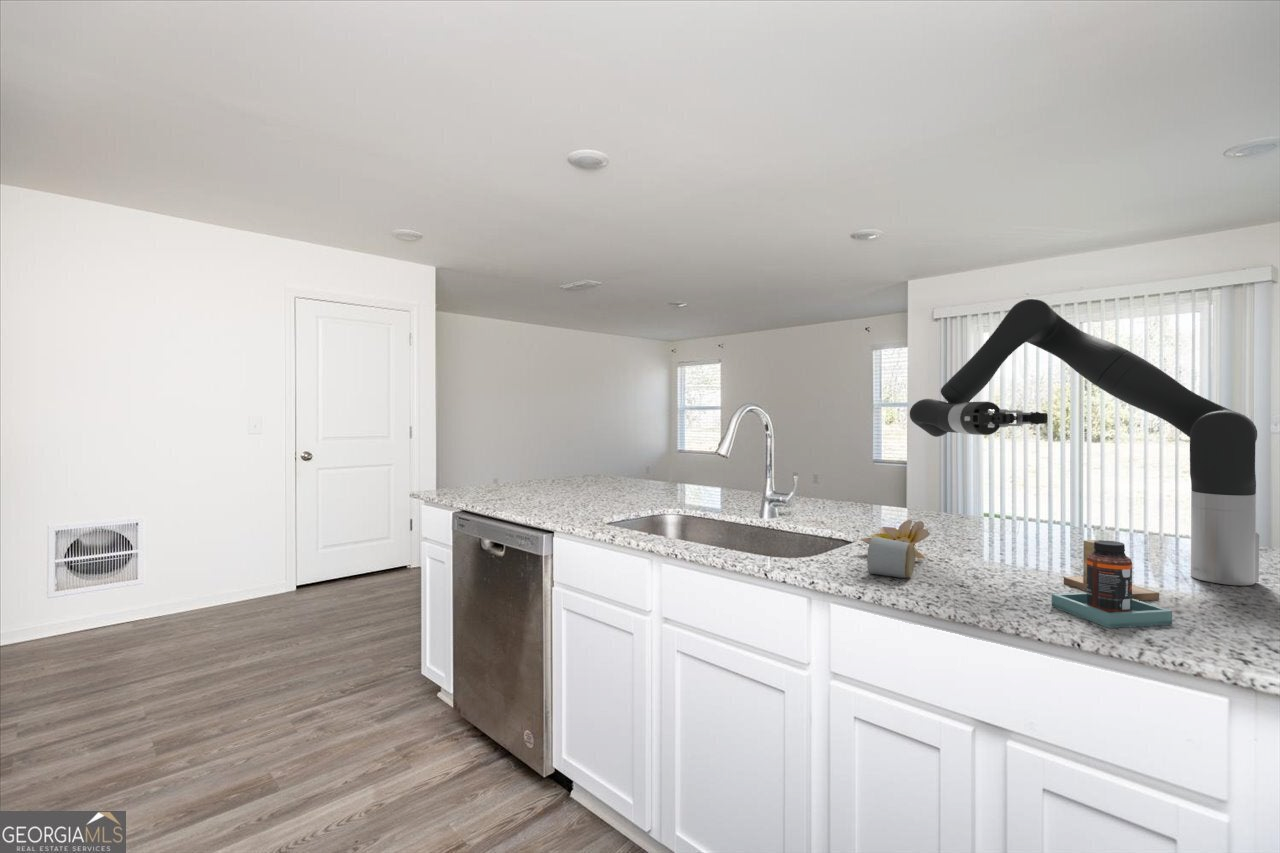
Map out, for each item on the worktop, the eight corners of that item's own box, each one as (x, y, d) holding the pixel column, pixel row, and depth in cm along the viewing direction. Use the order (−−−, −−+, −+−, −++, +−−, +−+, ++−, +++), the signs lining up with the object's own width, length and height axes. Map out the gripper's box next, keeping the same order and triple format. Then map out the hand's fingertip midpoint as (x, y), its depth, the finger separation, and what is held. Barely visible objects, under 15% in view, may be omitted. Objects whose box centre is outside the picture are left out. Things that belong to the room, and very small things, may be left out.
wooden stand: (1100, 581, 122) (1100, 534, 122) (1159, 599, 110) (1159, 547, 110) (1063, 583, 121) (1063, 536, 120) (1119, 601, 109) (1119, 549, 109)
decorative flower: (849, 542, 151) (860, 503, 151) (891, 551, 153) (902, 513, 152) (880, 561, 137) (892, 517, 136) (927, 571, 138) (939, 528, 138)
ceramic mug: (909, 582, 122) (909, 543, 122) (866, 576, 127) (866, 539, 126) (918, 572, 131) (919, 535, 131) (878, 566, 135) (878, 531, 135)
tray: (1109, 603, 108) (1109, 591, 108) (1172, 624, 97) (1172, 611, 97) (1051, 606, 106) (1051, 594, 106) (1109, 628, 95) (1109, 614, 95)
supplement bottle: (1140, 617, 98) (1140, 546, 98) (1097, 615, 100) (1098, 545, 99) (1119, 606, 104) (1120, 539, 104) (1079, 604, 105) (1080, 538, 105)
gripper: (945, 401, 142) (995, 400, 126) (1002, 401, 144) (1058, 400, 128) (945, 434, 142) (995, 437, 126) (1002, 434, 144) (1058, 436, 128)
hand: (1027, 418), depth 127 cm, fingers open, 8 cm apart
